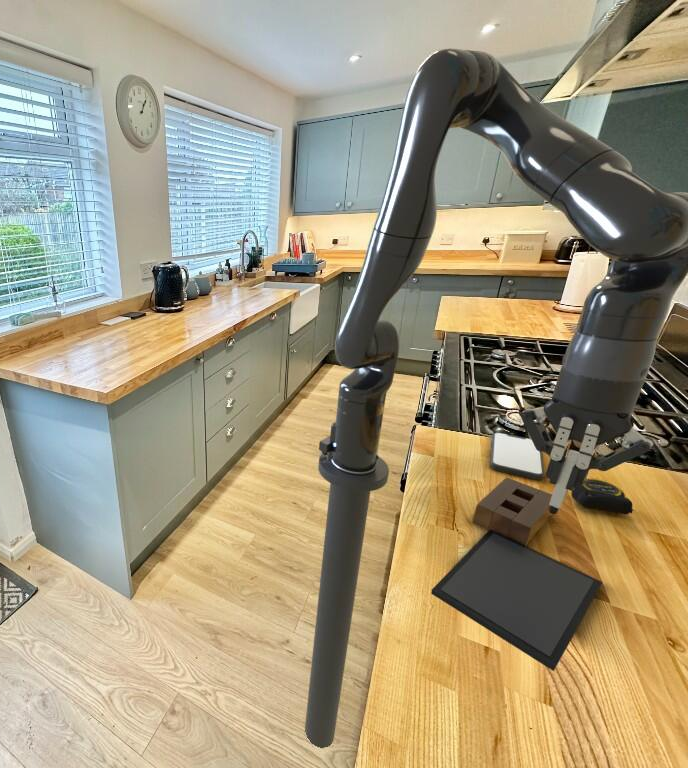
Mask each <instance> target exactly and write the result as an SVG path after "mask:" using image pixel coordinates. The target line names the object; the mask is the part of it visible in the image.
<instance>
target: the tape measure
mask: <svg viewBox="0 0 688 768" xmlns="http://www.w3.org/2000/svg"><path fill="white" fill-rule="evenodd" d="M571 497H572V498H573V500H575V502H577V503H578V505H579V506H580V507H582V508H585V509H588V510H594V511H601V512H607V513H613V514H619V515H629V514H631V515H632V514H633V512H634V509H633V502H632V500H630V498H628V497H626V495H625V493H624V491H623V490H621V488H619V487H618V486H616V485H614V484H612V483H610V482H607V481H604V480H601V479H596V478H586V481H585V483H584V484H583V486H582V487H581V488H579V489H577V488H574V490H573V491H571Z"/></svg>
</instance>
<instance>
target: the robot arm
mask: <svg viewBox="0 0 688 768" xmlns="http://www.w3.org/2000/svg"><path fill="white" fill-rule="evenodd" d="M399 123H400V125H399V129H398V134H397V139H396V143H395V148H394V149H395V150H394V154H393V157H392V161H391V162H392V163H391V167H390V171H389V174H388V177H387V182H386V185H385V188H384V192H383V196H382V199H381V204H380V207H379V210H378V213H377V216H376V219H375V222H374V224H373V227H372V231H371V235H370V237H369V241H368V243H367V248H366V252H365V256H364V259H363V263H362V266H361V269H360V272H359V275H358V279H357V281H356V285H355V287H354V291H353V294H352V296H351V299H350V301H349V304H348V306H347V308H346V311H345V313H344V316H343V318H342V321H341V322H340V325H339V327H338V330H337V333H336V336H335V342H334V354H335V358H336V360H337V362H338V364H339V365H340V366H341V367H343V368H345V369H348V370H353V371H352V372H351V373H349V374H347V376H345V377H344V378H342V379H341V381H340V382H339V386H338V396H337V405H336V406H337V407H336V415H335V421H334V422H333V423H332V424H331V425H330V434H329V436H327V437H325V438H324V439H321V440H319V442H318V443H319V445H318V450H319V451H320V452H321V454H322V453H323V455H324V456H325V455H328V461H330V462H332V464H333V466H334V467H335V468H337V469H338V470H340V471H342V472H344V473H347V474H352V475H367V474H370V473H372V472H374V471H375V469H376V461H377V460H378V458H379V457H380V456H379V455H378V451H379V445H380V438H381V432H382V425H383V419H384V412H385V405H386V399H387V394H388V391H389V390H390V389H391V388H392V384H393V381H394V376H395V372H396V369H397V368H396V367H397V364H398V358H399V353H400V335H399V332H398V329H397V328H396V326H395V325H394V324H393V323H391V322H390V321H389V320H385V319H380V318H381V316H382V314H383V312H384V310H385V308H386V307H387V305H388V304H389V302H390V301H391V300H392V299H393V298H394V296H395V295H396V294H397V293H398V292H399V291H400V290H401V289H402V288H403V287H404V285H405V284H406V283H407V282H408V281H409V279H410V278H411V277H412V276H413V275H414V273H415V272H416V271H417V270H418V268H419V267H420V265H421V263H422V261H423V259H424V257H425V255H426V253H427V249H428V247H429V245H430V241H431V240H432V239H431V238H432V236H433V234H434V230H435V228H436V223H437V216H438V215H437V213H438V211H437V196H436V195H437V194H436V181H435V179H436V169H437V164H438V161H439V157H440V154H441V151H442V150H443V145H444V143H445V140H446V137H447V135H448V132H449V130H450V129H457V128H459V129H463V130H465V131H468V132H470V133H472V134H475V135H477V136H479V137H482V138H483V139H484V140H486V141H488V142H490V143H491V144H492V145H493V146H494V147H496V148H497V149H498V150H499V151H500V153H501V154H502V155H503V157H504V159H505V160H506V161H507V163H508V166H509V167H510V169H511V170H512V172H513V173H514V175H516V177H517V178H518V179H519V180H520V181H521V182H522V183H523V184H524V185H525V186H527V188H529V189H530V190H531V191H532V192H534V193H535V194H536V195H538V196H539V197H540V198H542V199H543V200H545V202H546V203H548V204H549V205H551V206H552V207H554V208H555V209H556V210H558V211H559V212H561V213H562V214H564V216H565V217H566V219H567V221H568V222H569V223H570V224H571V225H572V227H573V229H575V230H576V231H577V233H578V234H579V236H580V237H582V239H583V240H584V241H585V242H586V243H587V244H588V245H589V246H590V247H592V249H594V250H595V251H596V252H598V253H600V254H601V255H603V256H604V257H606V258H609V260H611V263H610V265H609V267H608V269H607V272H606V274H605V276H604V278H603V279H602V280H601V281H600V282H598V283H597V284H596V285H594V286H593V287H592V288H590V290H589V292H588V293H587V295H586V297H585V300H584V303H583V305H582V309H581V312H580V315H579V318H578V321H577V324H576V327H575V330H574V332H573V335H572V337H571V339H570V341H569V343H568V345H567V348H566V351H565V354H563V357H562V361H561V363H562V364H561V366H560V370H559V374H558V376H557V380H556V383H555V386H554V389H553V393H552V395H551V398H550V399H549V400H548V402H546V403H545V404H544V405H543V406H540V407H533V406H529V407H528V408H526V409H525V410H523V411H522V412H521V413H520V419H521V420H522V423H523V424H524V427H525V429H526V431H527V433H528V435H529V437H530V439H532V442H533V444H534V446H535V448H536V449H537V450H538V451H540V452H542V453H545V454H546V455H548V457H549V461H548V465H547V468H546V471H545V473H544V475H545V478H546V479H549V481H548V483H549V484H551V485H554V486H556V484H557V482H558V479H559V476H560V473H561V471H562V468H563V465H564V462H565V458H566V455H567V453H568V451H569V450H570V446H571V443H572V441H576V442H578V443H581V445H580V448H579V451H578V452H580V453H579V456H578V459H577V462H576V464H575V465H574V466H573V468H572V471H571V474H570V477H569V480H568V482H567V485H566V489H568V491H571V492H572V491H573V490H574V488H577V489H579V488H581V487H582V486H583V484H584V483H585V481H586V479H588V475H589V472H590V470H598V471H600V472H608V471H609V470H611V469H613V468H616V467H618V466H620V465H622V464H624V463H626V462H628V461H631V460H633V459H635V458H637V457H640V456H641V455H644V454H646V453H648V452H650V450H651V449H652V447H653V446H654V444H655V440H654V438H653V437H651V436H644V435H642V434H641V433H640V432H638V431H637V430H636V429H635V428H634V425H635V423H634V420H633V418H632V417H633V411H634V409H635V407H636V405H637V401H638V399H639V396H640V394H641V391H642V389H643V386H644V384H645V381H646V378H647V376H648V373H649V371H650V368H651V366H652V363H653V361H654V358H655V354H656V349H657V343H658V339H659V336H660V335H661V331H662V329H663V327H664V325H665V322H666V319H667V316H668V314H669V311H670V308H671V303H672V300H673V299H674V296H675V294H676V292H677V291H678V289H679V288H680V286H681V285H682V283H683V282H684V280H685V279H686V277H687V276H688V192H684V191H683V192H681V191H676V192H675V191H674V192H665V191H662V190H661V189H659V188H657V187H655V186H653V185H652V184H651V183H649V182H647V181H646V180H645V179H643V178H641V177H640V176H639V175H637V174H636V173H634V172H633V167H632V164H631V163H630V161H629V160H628V159H627V158H626V157H625V156H624V155H622V154H621V153H620V152H618V151H617V150H615V149H614V148H613V147H610V146H609V145H607V144H605V143H604V142H603V141H601V140H599V139H598V138H596V137H594V136H593V135H592V134H590V133H588V132H586V131H585V130H583V129H581V128H580V127H578V126H577V125H575V124H573V123H571V122H570V121H569V120H567V119H565V118H564V117H562V116H560V115H559V114H557V113H556V112H554V111H553V110H551V109H550V108H549V107H546V106H545V105H544V104H543V103H541V102H540V101H539V100H538V99H536V98H535V96H533V95H532V94H531V93H530V92H529V91H528V90H527V89H526V88H524V87H523V85H521V83H520V82H518V80H517V79H516V78H515V77H514V76H513V74H511V73H510V71H509V70H508V69H507V68H506V67H505V66H504V65H503V64H502V63H501V62H500V61H499V60H498V59H497V58H496V57H495V56H493V55H492V54H491V53H489V52H486V51H481V50H471V49H470V50H469V49H463V48H442V49H439V50H437V51H436V52H434V53H432V54H431V55H429V57H427V58H426V59H425V60H424V62H422V64H420V66H419V67H418V69H417V71H416V72H415V75H414V76H413V77H412V80H411V83H410V85H409V88H408V91H407V93H406V97H405V101H404V105H403V109H402V114H401V119H400V122H399ZM546 418H547V420H548V421H549V423H550V425H551V427H552V429H553V430H554V432H555V433H556V435H555V438H554V441H552V439H551V436H550V433H549V432H548V430H547V428H546V426H545V424H544V422H545V420H546ZM622 436H624V439H623V440H622V442H621V447H619V448H617V449H616V450H613V451H611V452H609V453H607V454H604V455H603V456H597V452H598V449H599V447H600V446H601V445H604V444H606V443H608V442H611V441H612V440H615V439H617V438H619V437H622ZM328 452H329V454H327V453H328ZM378 456H379V457H378ZM376 459H377V460H376Z"/></svg>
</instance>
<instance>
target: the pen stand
mask: <svg viewBox="0 0 688 768" xmlns="http://www.w3.org/2000/svg"><path fill="white" fill-rule="evenodd" d="M552 494H553V493H549V492H548V491H544V490H542V489H539V488H536V487H533V486H531V485H529V484H527V483H523V482H520V481H518V480H516V479H513V478H510V477H508V476H506V477H505V478H504V479H503V480H502V481H500V482H499V483H498V484H497V485H496V486H495V487H494V488H492V489H491V490H490V492H489V493H487V495H485V496H484V497H483V498H482V499H481V500H480V501H479V502H478V503H477V504H476V507H475V511H474V514H473V518H472V521H471V522H472V523H473V524H474V525H477V526H478V527H481V528H482V529H485V530H487V531H489V530H490V529H491V530H493V531H495V532H497V533H499V534H501V535H504V536H506V537H508V538H510V539H512V540H514V541H516V542H518V543H521V544H523V545H525V546H528V544H529V543H530V542H531V541H532V539H533V538H534V537H535V535H536V534H537V533H538V532H539V531H540V530H541V528H542V527H543V526H544V525H545V524H546V522H547V521H548V520H549V518H550V517H551V516H552V515H553V514H551V513H550V512H549V509H550V506H551V505H549V503H550V500H551V497H552Z"/></svg>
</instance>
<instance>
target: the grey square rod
mask: <svg viewBox="0 0 688 768" xmlns="http://www.w3.org/2000/svg"><path fill="white" fill-rule="evenodd" d="M579 453H580V452H579V451H577V450H575V449H574V450H573V449H568V452H567V454H566V458H565V462H564V465H563V468H562V471H561V473H560V476H559V479H558V482H557V484H556V485H554V486H555V487H554V489H553V492H552V493H551V494H552V497H551V500H550V503H549V505H551V506H550V509H549V512H550V513H551V514H552V515H557V514H558V512H559V510H560V509H561V508H562V507H563V504H564V502H565V499H566V496H567V494H568V491H569V490H568V489H566V485H567V482H568V480H569V477H570V474H571V471H572V468H573V466H574V465H575V464H576V462H577V459H578V456H579Z"/></svg>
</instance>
